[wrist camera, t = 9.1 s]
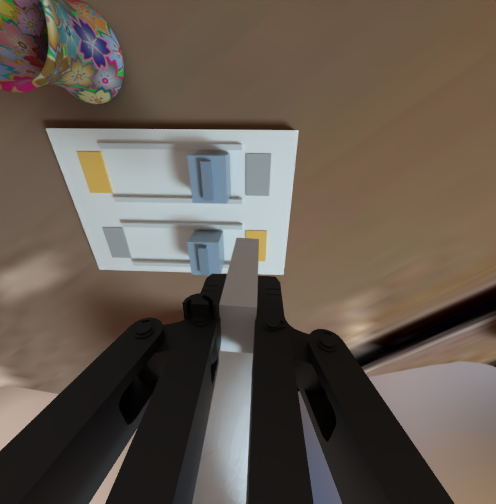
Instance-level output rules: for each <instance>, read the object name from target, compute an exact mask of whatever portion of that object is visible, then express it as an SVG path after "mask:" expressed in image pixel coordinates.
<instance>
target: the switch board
mask: <svg viewBox="0 0 496 504" xmlns="http://www.w3.org/2000/svg"><path fill="white" fill-rule="evenodd" d="M46 131H47V134H48V136H49V139H50V142H51V144H52V147H53V149H54V152H55V155H56V157H57V160H58V162H59V165H60V168H61V170H62V173H63V175H64V178H65V181H66V183H67V186H68V189H69V191H70V194H71V196H72V199H73V202H74V204H75V207H76V209H77V212H78V215H79V217H80V220H81V222H82V225H83V228H84V230H85V233H86V236H87V238H88V241H89V243H90V246H91V249H92V251H93V254H94V256H95V259H96V262H97V264H98V267H99V270H130V271H165V272H191V266H190V259H189V252H188V245H187V241H188V240H189V238H190V237H191V235H192V234H193V232H194V231H195V230H220V231H223V241H224V260H225V261H224V265H223V268H222V272H221V273H228V269H229V265H230V261H231V257H232V253H233V250H234V246H235V242H236V238H252V239H259V256H258V274H271V275H284V265H285V256H286V246H287V237H288V227H289V218H290V208H291V199H292V189H293V180H294V170H295V161H296V151H297V142H298V132H299V130H204V129H80V128H46ZM195 153H223V154H230V179H231V196H230V199H229V201H228V203H227V204H222V203H193V202H192V193H191V184H190V176H189V167H188V159H187V155H191V154H195Z"/></svg>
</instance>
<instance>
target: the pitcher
mask: <svg viewBox="0 0 496 504" xmlns="http://www.w3.org/2000/svg"><path fill="white" fill-rule="evenodd" d="M252 362H253V353H241V352H228V351H221V346H220V351H219V365H218V370H217V376H216V381H215V386H214V391H213V397H212V402H211V407H210V413H209V418H208V423H207V428H206V434H205V439H204V444H203V449H202V455H201V460H200V465H199V470H198V476H197V481H196V486H195V492H194V497H193V502H192V504H246V492H247V470H248V448H249V426H250V403H251V381H252V376H251V375H252Z"/></svg>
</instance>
